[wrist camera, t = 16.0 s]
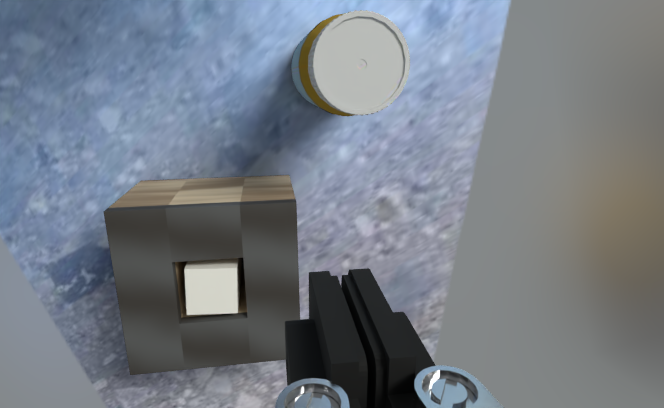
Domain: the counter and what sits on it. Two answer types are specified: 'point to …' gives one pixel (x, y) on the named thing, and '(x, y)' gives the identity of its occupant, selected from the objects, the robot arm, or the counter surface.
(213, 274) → the peg
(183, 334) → the socket
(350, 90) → the bottle
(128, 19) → the counter surface
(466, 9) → the counter surface
